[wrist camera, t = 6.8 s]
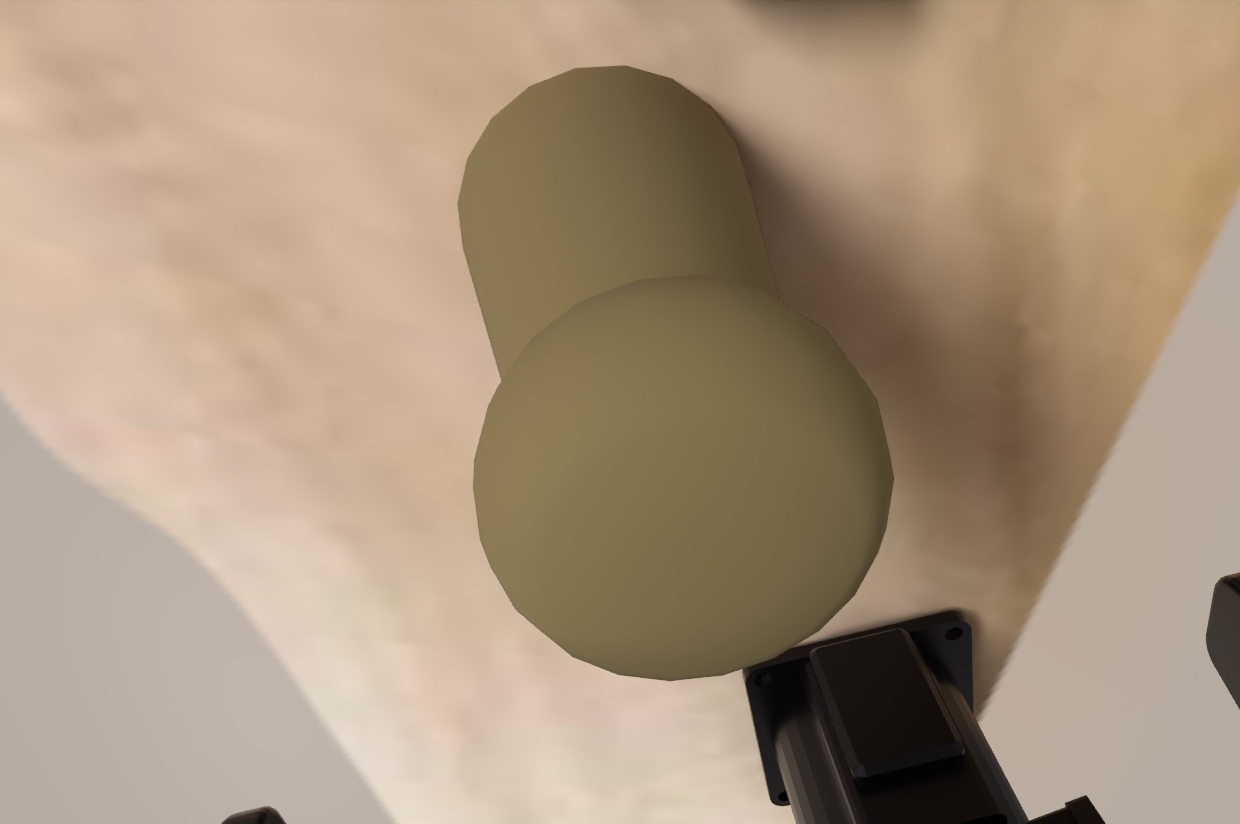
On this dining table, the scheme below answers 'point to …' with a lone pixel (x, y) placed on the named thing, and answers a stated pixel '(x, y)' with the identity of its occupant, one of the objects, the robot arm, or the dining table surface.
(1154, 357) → the dining table surface
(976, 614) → the dining table surface
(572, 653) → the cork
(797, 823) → the robot arm
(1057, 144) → the dining table surface
